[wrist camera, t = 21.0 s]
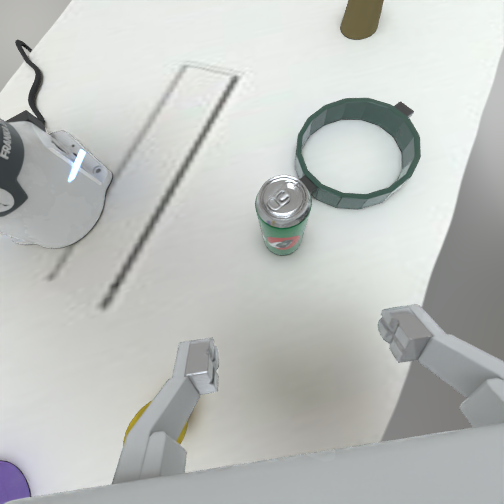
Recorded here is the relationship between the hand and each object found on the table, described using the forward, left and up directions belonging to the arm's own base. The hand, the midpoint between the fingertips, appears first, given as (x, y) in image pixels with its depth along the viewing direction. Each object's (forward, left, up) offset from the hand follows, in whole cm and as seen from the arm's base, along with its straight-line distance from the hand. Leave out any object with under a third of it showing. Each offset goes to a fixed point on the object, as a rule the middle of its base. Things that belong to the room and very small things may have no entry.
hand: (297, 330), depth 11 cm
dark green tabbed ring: (-11, +21, -18) cm, 30 cm away
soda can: (-8, +6, -18) cm, 21 cm away
